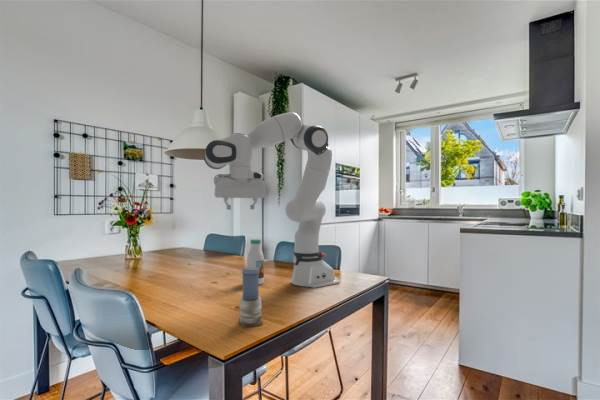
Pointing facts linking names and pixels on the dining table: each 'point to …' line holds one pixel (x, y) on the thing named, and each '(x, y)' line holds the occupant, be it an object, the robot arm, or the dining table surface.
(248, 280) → the blue canister
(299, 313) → the dining table surface
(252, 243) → the milk bottle
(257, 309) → the stand
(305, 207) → the robot arm
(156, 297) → the dining table surface
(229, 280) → the dining table surface
